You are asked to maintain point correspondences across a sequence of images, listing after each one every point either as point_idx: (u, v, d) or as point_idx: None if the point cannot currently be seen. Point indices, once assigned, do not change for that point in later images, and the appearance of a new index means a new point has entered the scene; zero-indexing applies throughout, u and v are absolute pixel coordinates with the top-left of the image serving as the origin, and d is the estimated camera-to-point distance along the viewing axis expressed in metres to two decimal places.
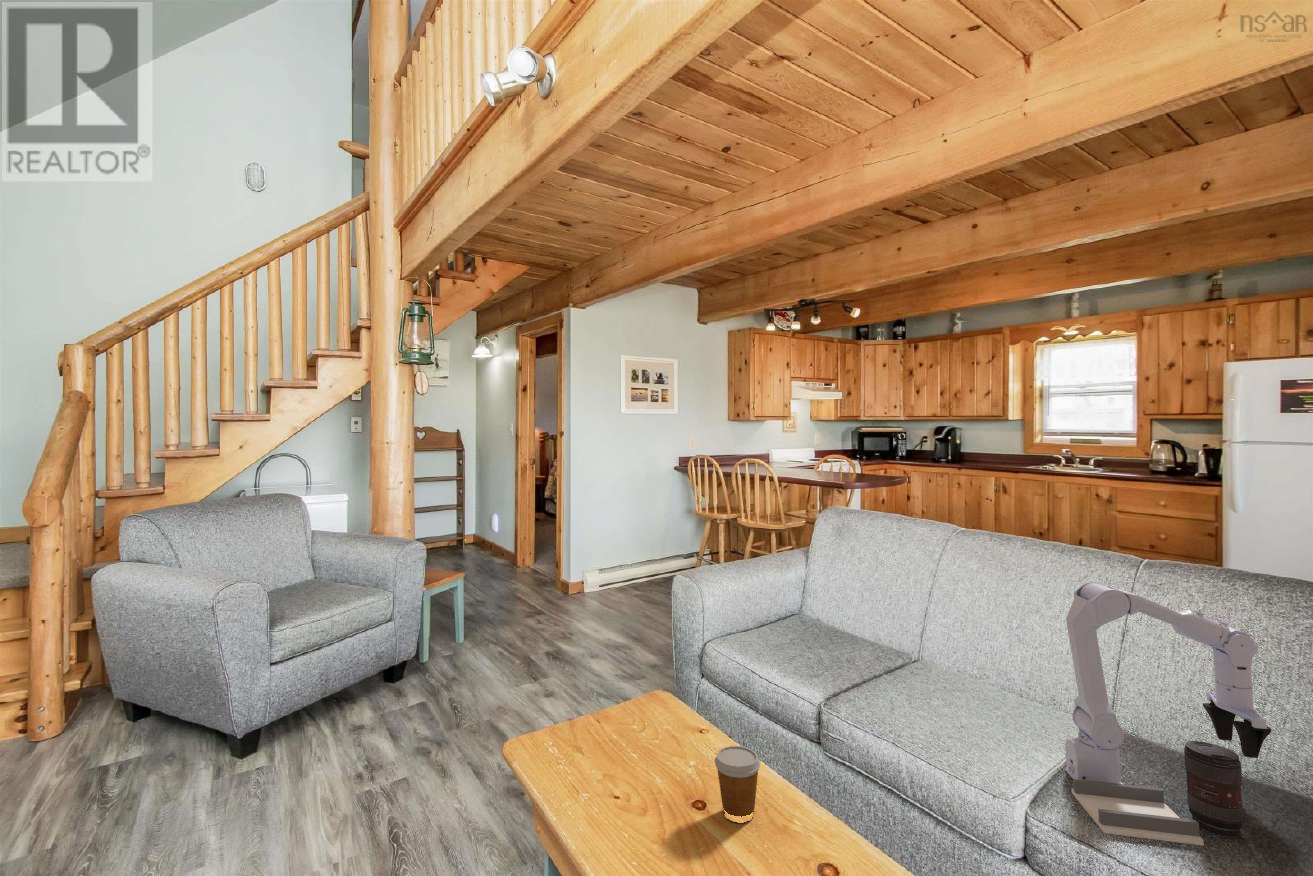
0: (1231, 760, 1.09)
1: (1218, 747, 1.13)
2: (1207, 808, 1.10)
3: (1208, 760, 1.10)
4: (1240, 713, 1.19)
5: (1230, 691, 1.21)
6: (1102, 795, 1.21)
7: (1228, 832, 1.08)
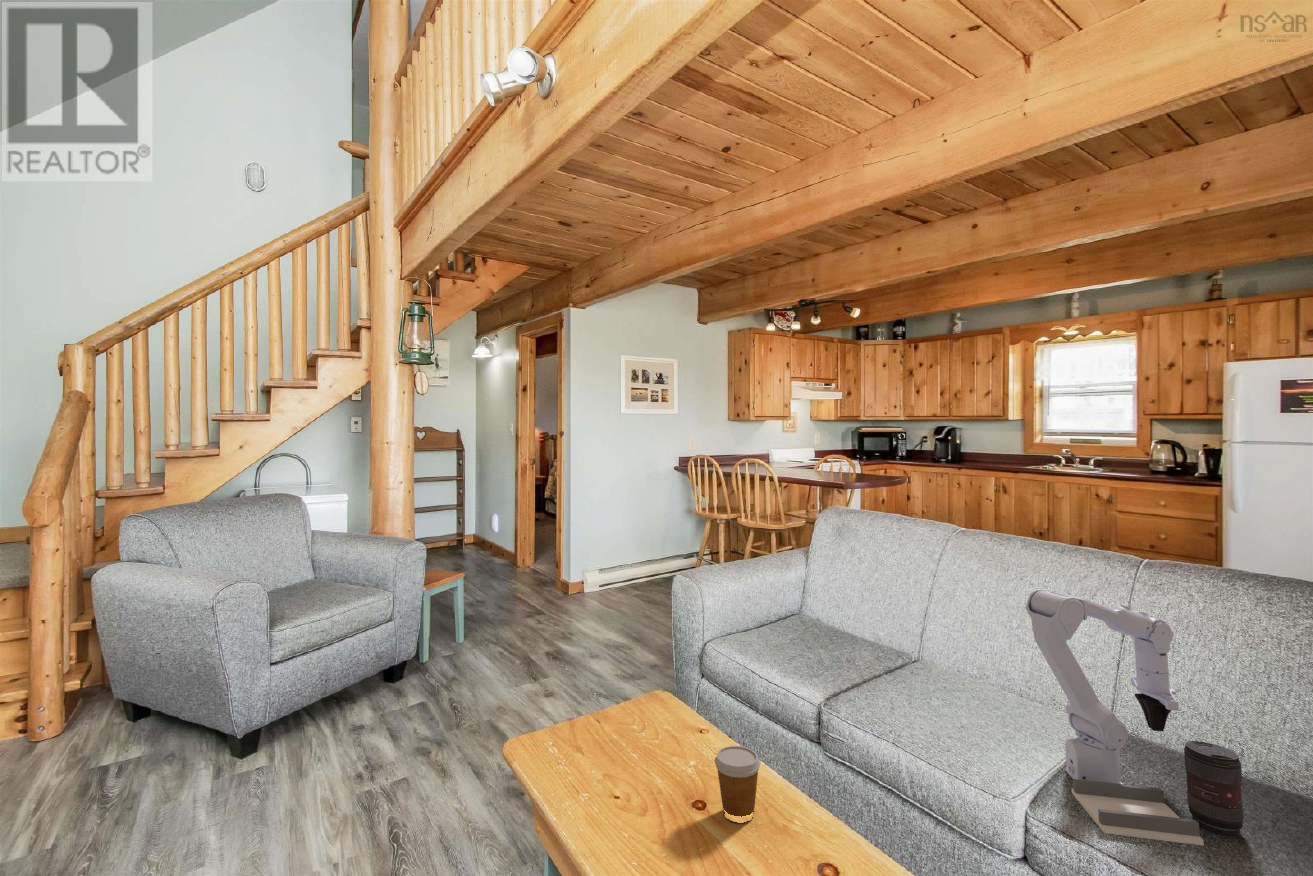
0: (1231, 760, 1.09)
1: (1218, 747, 1.13)
2: (1207, 808, 1.10)
3: (1208, 760, 1.10)
4: (1156, 696, 1.27)
5: (1148, 676, 1.29)
6: (1102, 795, 1.21)
7: (1228, 832, 1.08)
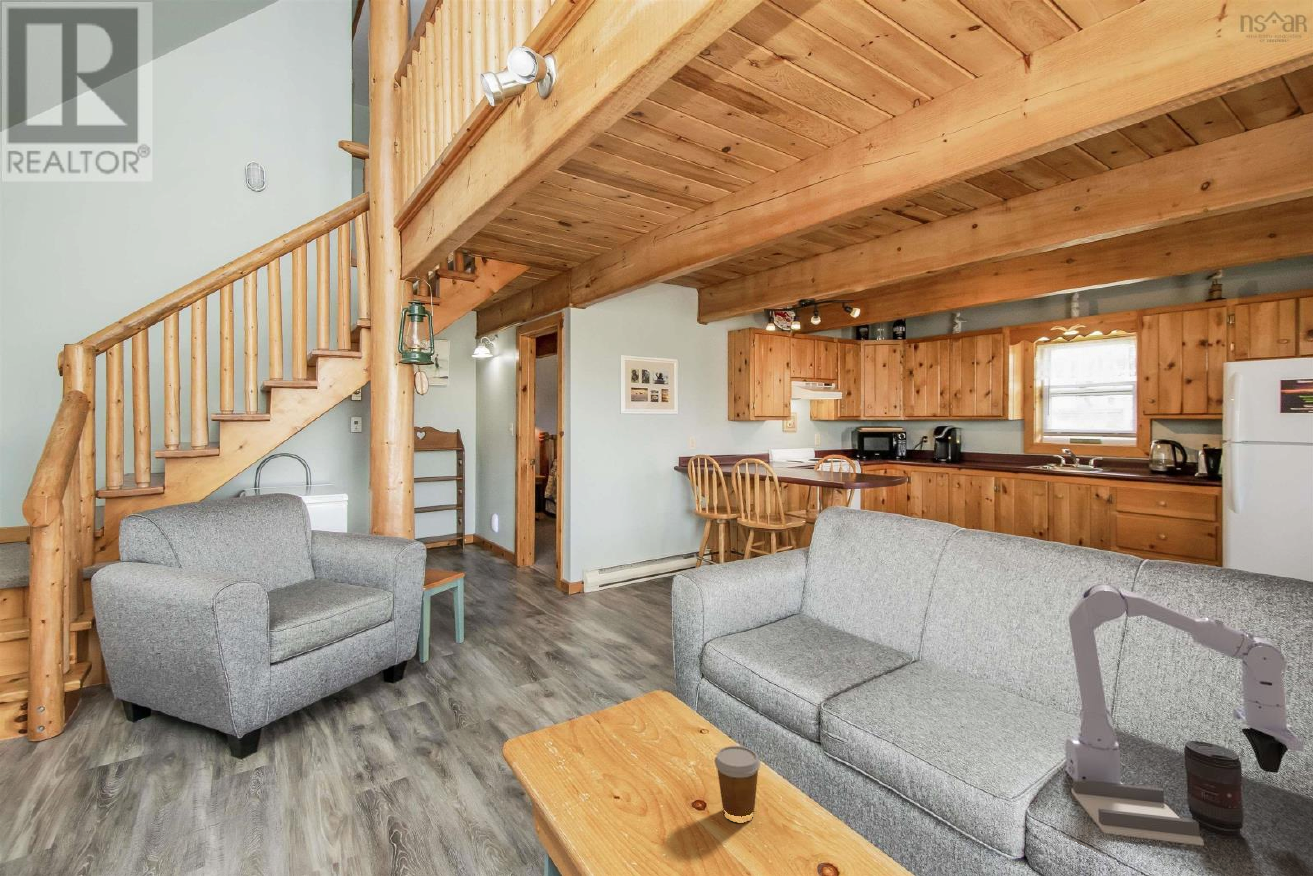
0: (1231, 760, 1.09)
1: (1218, 747, 1.13)
2: (1207, 808, 1.10)
3: (1208, 760, 1.10)
4: (1273, 733, 1.09)
5: (1261, 709, 1.11)
6: (1102, 795, 1.21)
7: (1228, 832, 1.08)
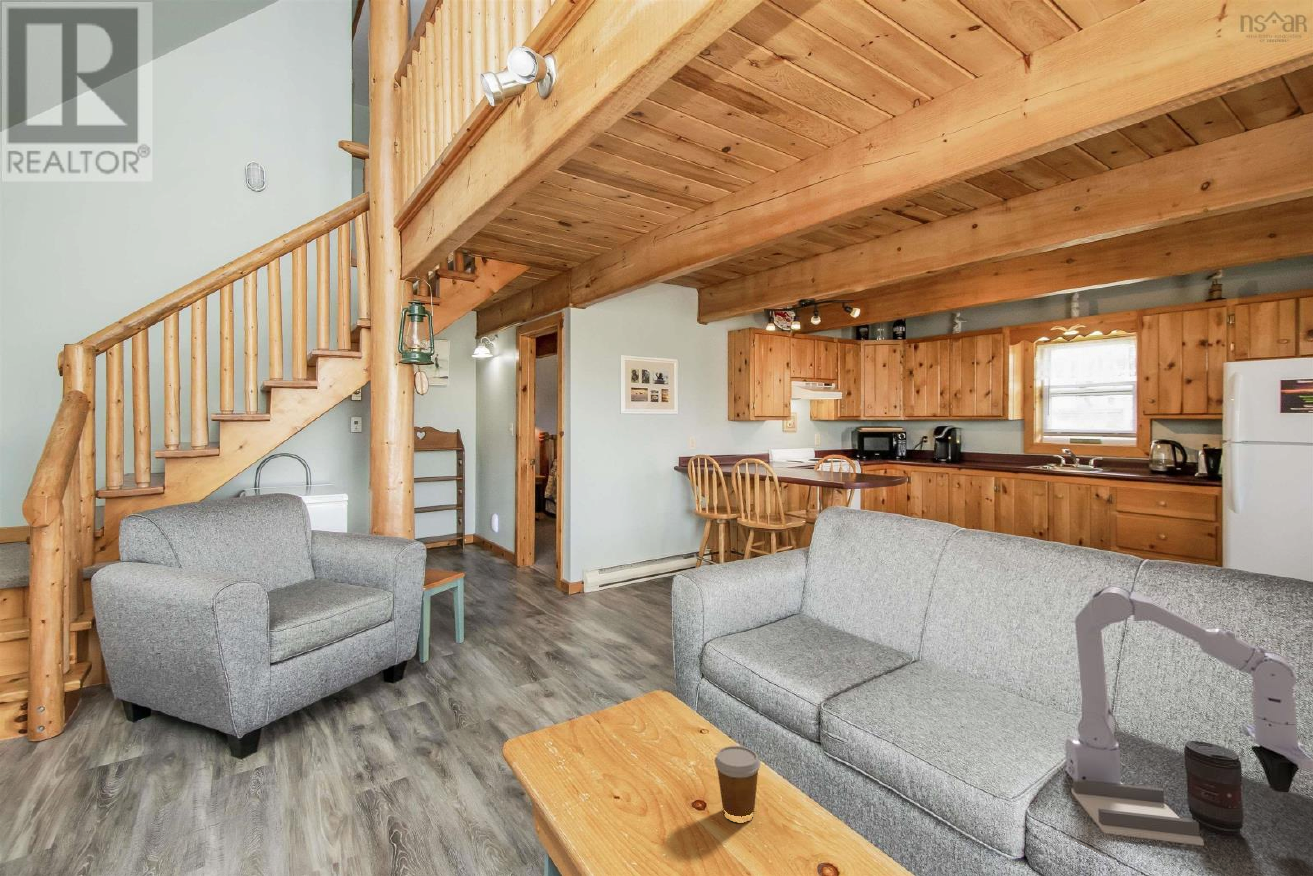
0: (1231, 760, 1.09)
1: (1218, 747, 1.13)
2: (1207, 808, 1.10)
3: (1208, 760, 1.10)
4: (1284, 752, 1.06)
5: (1271, 727, 1.08)
6: (1102, 795, 1.21)
7: (1228, 832, 1.08)
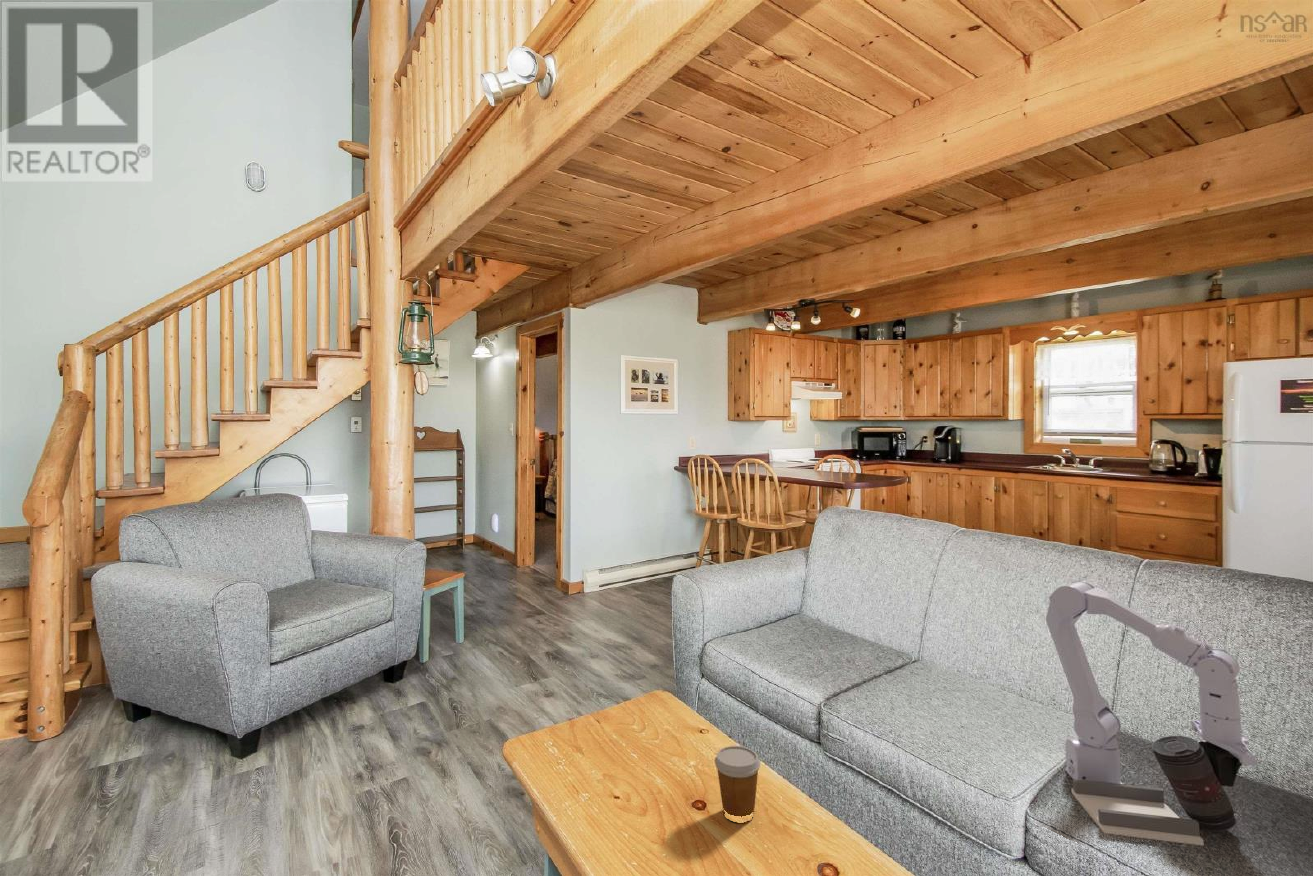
0: (1193, 753, 1.10)
1: (1181, 738, 1.15)
2: (1195, 808, 1.10)
3: (1174, 760, 1.11)
4: (1227, 747, 1.08)
5: (1216, 722, 1.11)
6: (1102, 795, 1.21)
7: (1223, 825, 1.09)
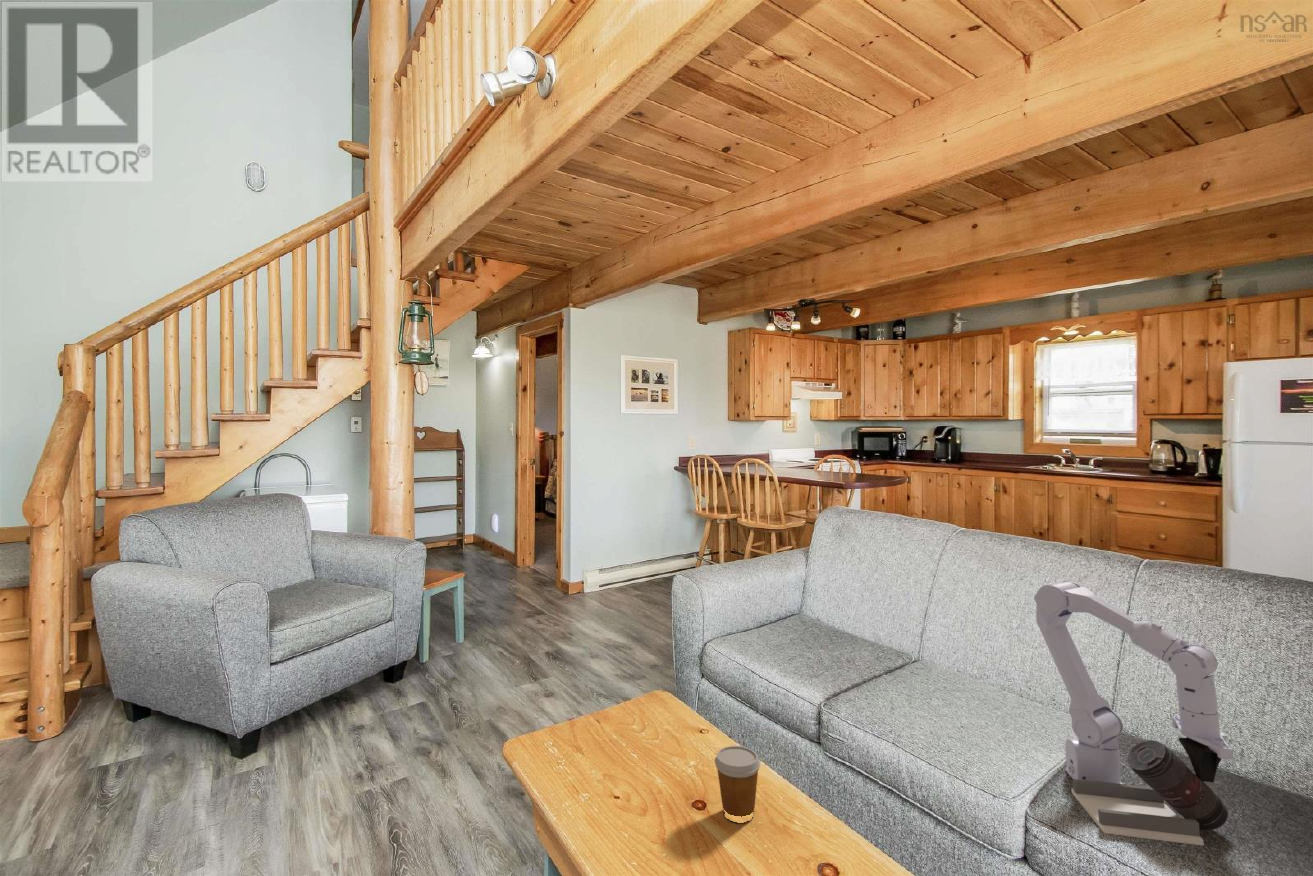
0: (1161, 761, 1.11)
1: (1150, 744, 1.16)
2: (1186, 813, 1.10)
3: (1148, 773, 1.12)
4: (1205, 742, 1.09)
5: (1194, 718, 1.11)
6: (1102, 795, 1.21)
7: (1217, 822, 1.09)
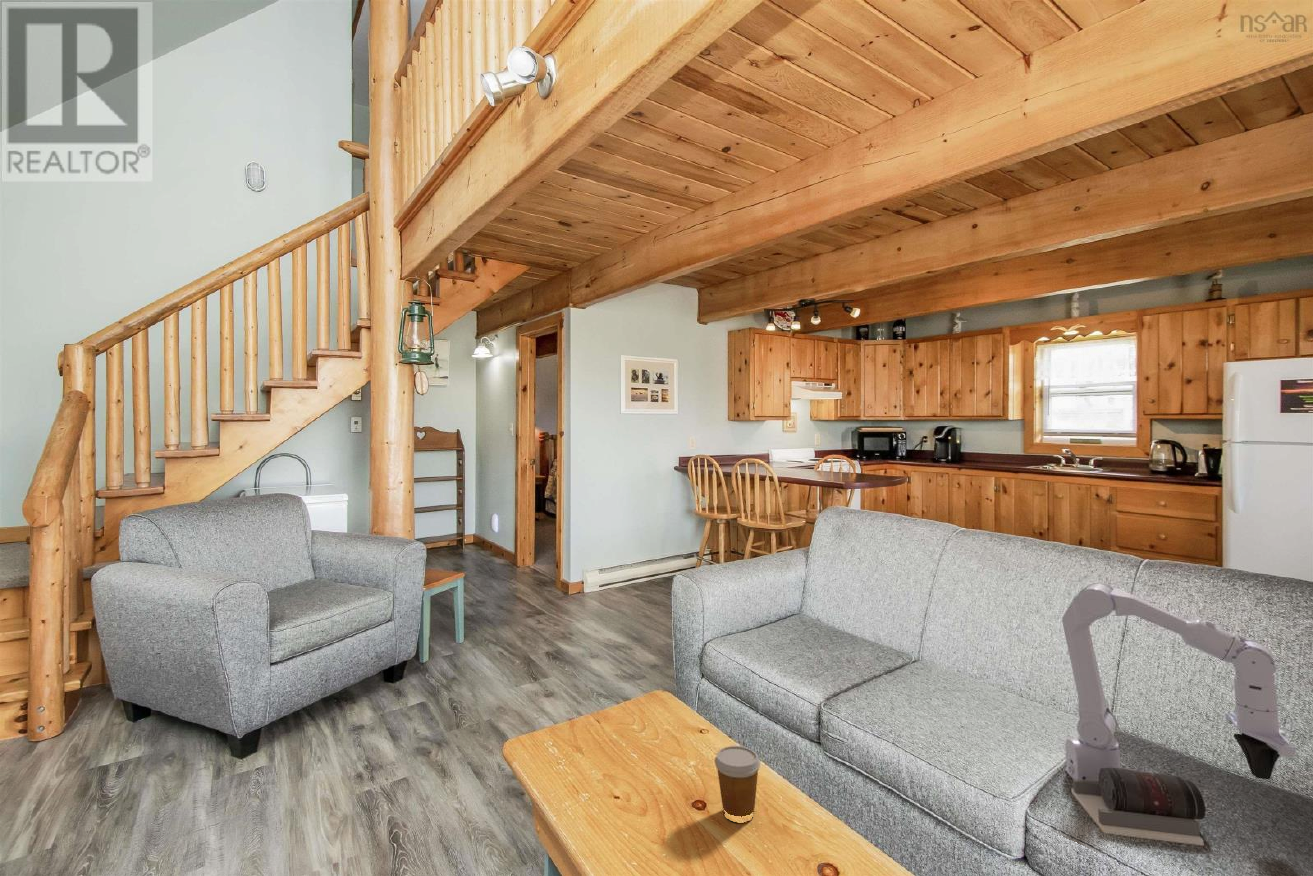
0: (1116, 792, 1.13)
1: (1103, 773, 1.18)
2: None
3: (1119, 810, 1.13)
4: (1265, 739, 1.07)
5: (1253, 714, 1.09)
6: None
7: (1200, 809, 1.09)
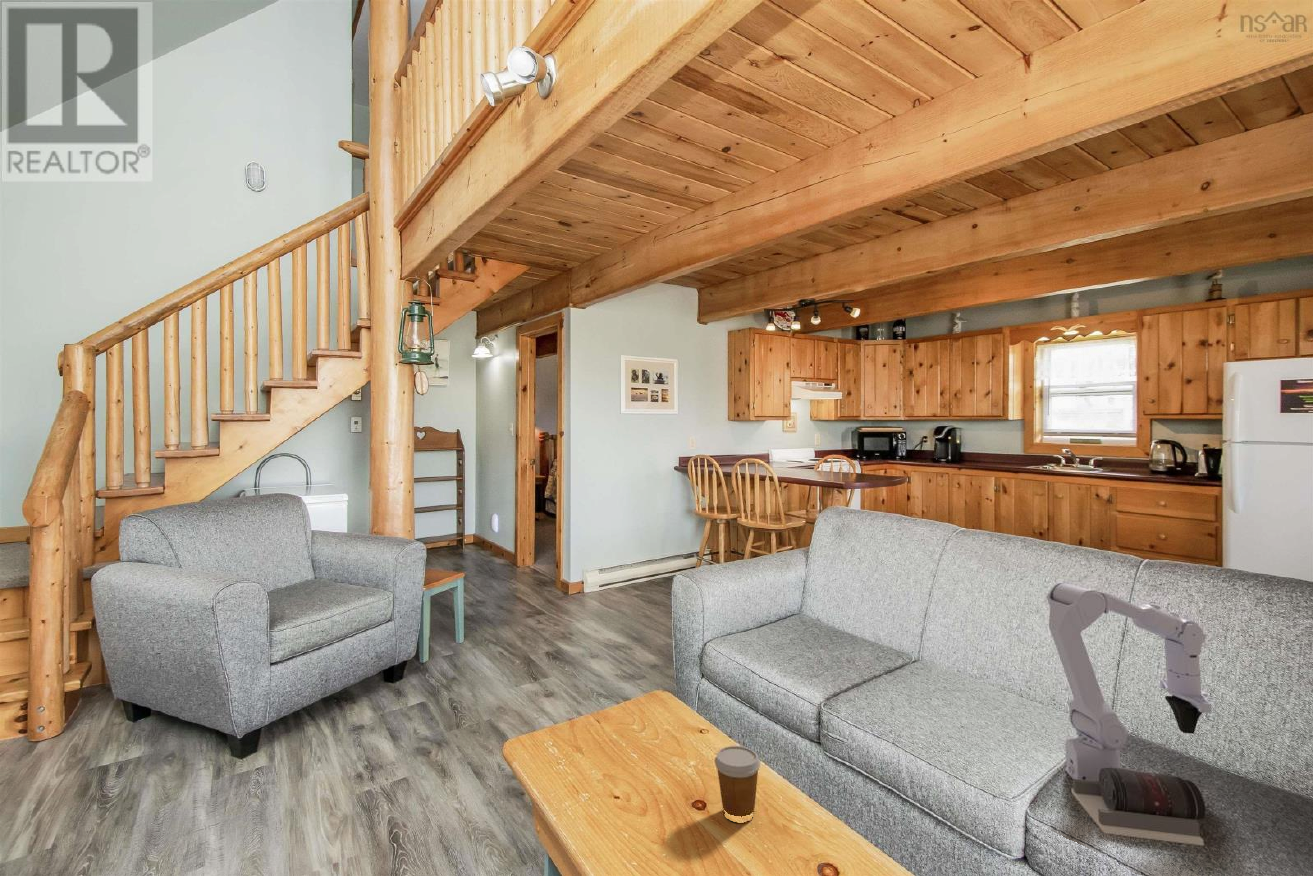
0: (1116, 793, 1.13)
1: (1103, 773, 1.18)
2: None
3: (1119, 810, 1.13)
4: (1188, 699, 1.25)
5: (1179, 678, 1.28)
6: None
7: (1200, 809, 1.09)
